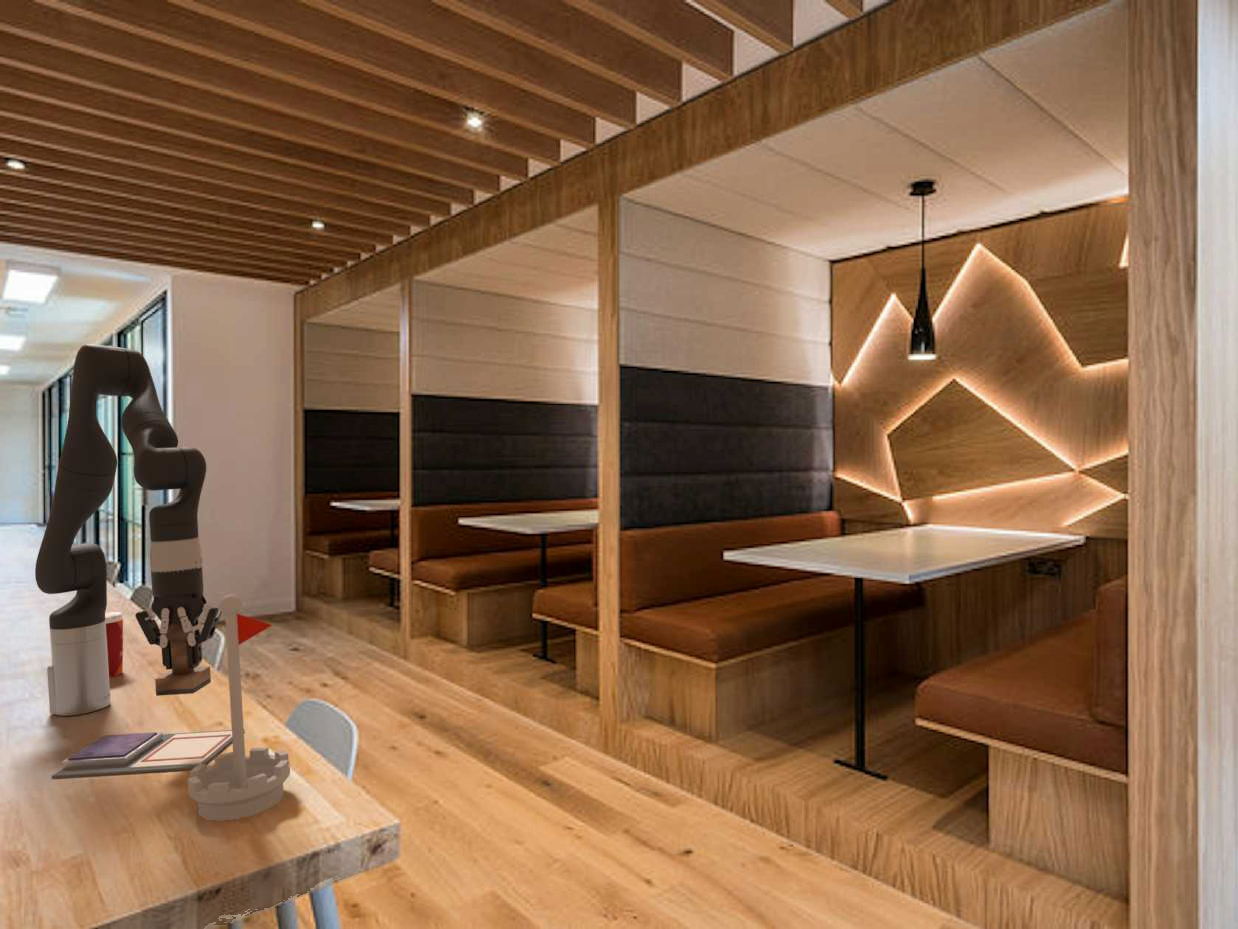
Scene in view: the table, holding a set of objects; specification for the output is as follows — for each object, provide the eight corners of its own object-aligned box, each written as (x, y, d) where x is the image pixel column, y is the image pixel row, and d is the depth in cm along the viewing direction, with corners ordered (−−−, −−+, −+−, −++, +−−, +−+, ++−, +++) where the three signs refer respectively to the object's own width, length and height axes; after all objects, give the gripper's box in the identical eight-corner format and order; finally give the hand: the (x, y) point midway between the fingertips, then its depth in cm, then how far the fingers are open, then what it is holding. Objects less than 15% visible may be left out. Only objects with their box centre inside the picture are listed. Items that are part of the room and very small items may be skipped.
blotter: (51, 778, 122) (51, 774, 122) (113, 739, 138) (112, 735, 137) (200, 769, 123) (200, 764, 123) (244, 731, 139) (244, 727, 139)
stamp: (156, 695, 127) (151, 623, 127) (175, 684, 133) (170, 615, 133) (193, 693, 127) (188, 621, 127) (210, 682, 133) (206, 613, 133)
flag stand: (184, 834, 102) (171, 608, 101) (195, 794, 114) (183, 592, 113) (291, 811, 107) (279, 596, 106) (290, 775, 119) (280, 582, 118)
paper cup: (135, 670, 182) (132, 612, 182) (104, 680, 175) (100, 619, 175) (111, 668, 185) (107, 611, 185) (80, 678, 178) (76, 618, 177)
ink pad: (62, 769, 124) (61, 760, 124) (104, 742, 135) (103, 734, 135) (125, 765, 125) (125, 756, 124) (162, 739, 135) (162, 730, 135)
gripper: (120, 572, 125) (127, 677, 126) (208, 567, 126) (215, 671, 127) (146, 564, 133) (152, 664, 133) (229, 560, 134) (235, 659, 134)
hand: (183, 667), depth 130 cm, fingers closed on stamp, 3 cm apart
